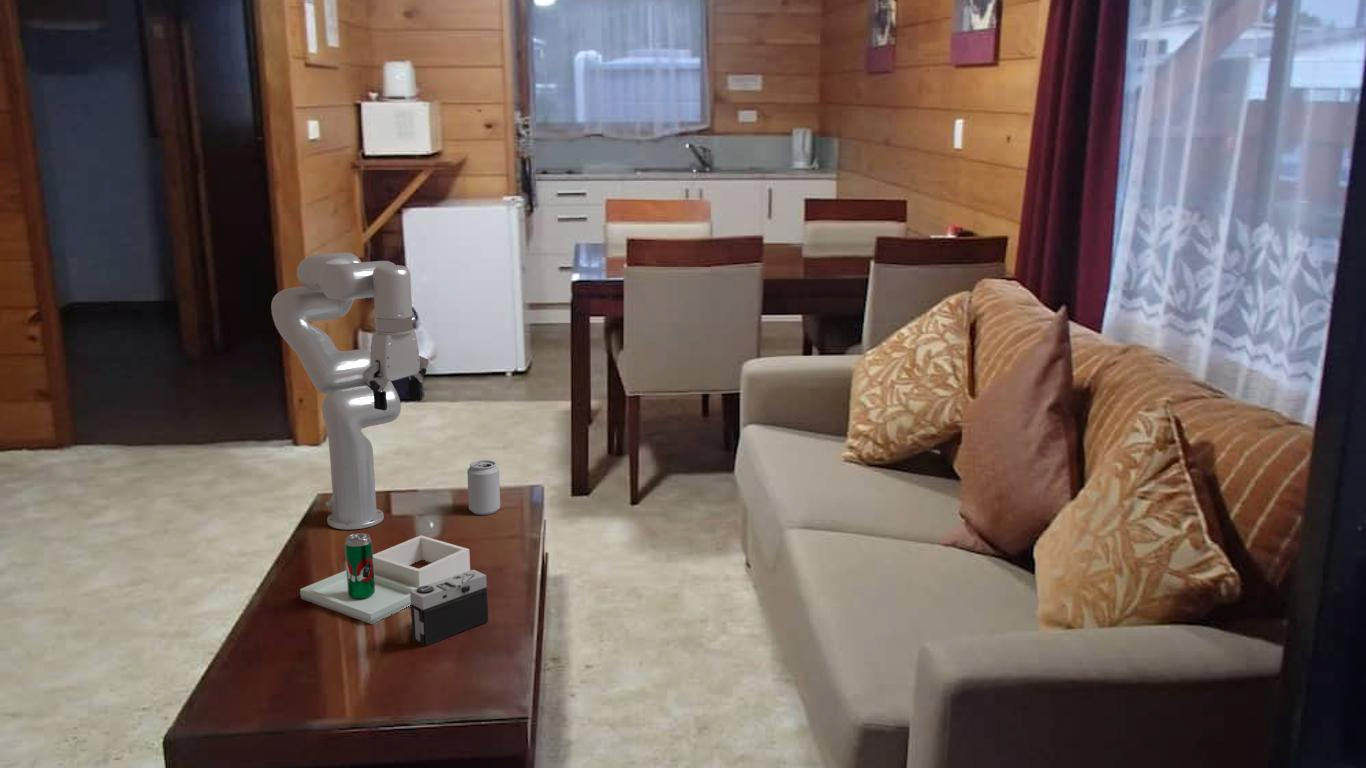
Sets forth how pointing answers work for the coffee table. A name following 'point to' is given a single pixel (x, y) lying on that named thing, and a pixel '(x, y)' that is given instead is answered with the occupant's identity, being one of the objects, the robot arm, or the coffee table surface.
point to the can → (483, 487)
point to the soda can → (359, 566)
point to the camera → (448, 607)
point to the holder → (439, 553)
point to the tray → (370, 609)
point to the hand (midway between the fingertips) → (398, 404)
